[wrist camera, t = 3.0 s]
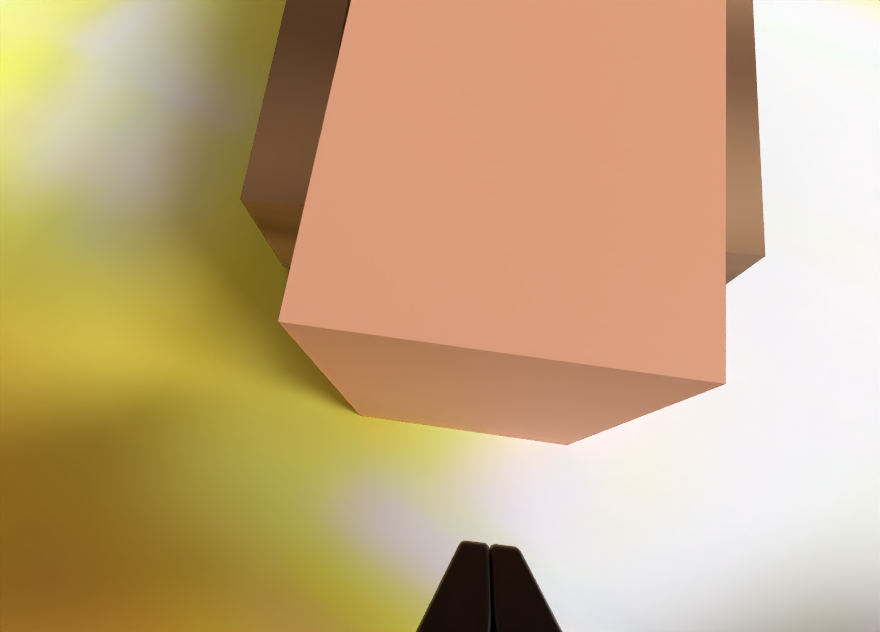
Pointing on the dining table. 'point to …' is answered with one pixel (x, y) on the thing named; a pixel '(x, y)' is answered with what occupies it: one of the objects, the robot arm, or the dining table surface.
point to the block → (518, 214)
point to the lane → (307, 93)
